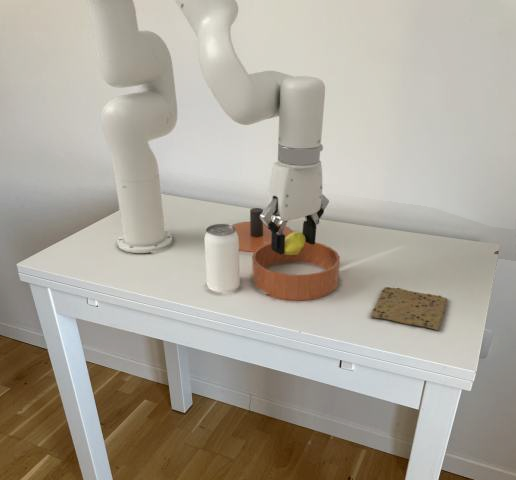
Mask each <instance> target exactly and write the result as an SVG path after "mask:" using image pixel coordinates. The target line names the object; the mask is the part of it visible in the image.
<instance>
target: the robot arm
mask: <svg viewBox="0 0 516 480" xmlns="http://www.w3.org/2000/svg"><path fill="white" fill-rule="evenodd" d="M174 1H175V3H176V5H177V6H178V8H179V9H180V11H181V12H182V14H183V16H184V17H185V20H186V21H187V23H188V24H189V26H190V28H191V29H192V30H193V32H194V34H195V36H196V39H197V55H198V60H199V65H200V69H201V73H202V77H203V79H204V81H205V84H206V85H207V87H208V88H209V90H210V92H211V94H212V95H213V97H214V99H215V100H216V101H217V103H218V105H219V106H220V107H221V109H222V110H223V112H224V113H225V114H226V115H227V116H228V117H229V118H230V119H231V120H232V121H234V122H235V123H237V124H239V125H242V126H249V125H254V124H257V123H260V122H262V121H265V120H270V119H274V118H278V137H277V138H278V139H277V161H276V162H274V163H273V164H272V165H273V166H272V169H271V172H270V173H271V174H270V179H269V185H268V193H267V205H266V207H265V208H264V209H263V212H262V213H261V214H260V219H261V220H262V222H263V223H264V224H265V226H266V227H267V228H268V229H269V231H271V232H272V239H271V249H272V250H273V251H275V252H277V253H279V254H280V255H282V254H284V248H285V235H284V234H282V233H283V231H284V229H285V226H286V227H287V224H288V222H290V221H293V220H297V219H301V218H305V220H303V222H302V233H303V234H304V235H305V238H306V242H307V243H309V244H311V245H313V244H315V242H316V236H317V226H318V225H319V224H320V219H321V218H322V216H323V215H324V213H325V209H327V206H328V205H329V203H330V199H328V198H327V196H325V194H323V166H322V161H321V152H323V151H324V146H323V144H322V136H323V123H324V111H325V97H326V86H325V83H324V81H323V80H322V79H320V78H318V77H313V76H304V75H303V76H301V75H299V76H297V75H296V76H293V75H291V74H287V73H283V72H280V71H276V70H263V71H261V72H255V73H250V74H249V73H248V71H247V70H246V68H245V66H244V65H243V62H242V61H241V60H240V58H239V56H238V55H237V52H236V50H235V47H234V45H233V42H232V37H231V29H232V26H233V24H234V23H235V22H236V20H237V18H238V15H239V4H238V3H237V0H174ZM86 2H87V7H88V12H89V19H90V25H91V31H92V35H93V41H94V48H95V52H96V58H97V64H98V67H99V68H98V69H99V71H100V74H101V77H102V79H103V80H104V82H105V83H106V84H107V85H108V86H111V87H113V88H117V89H119V88H121V89H124V88H132V87H136V86H137V90H138V92H132V93H127V94H123V95H119V96H116V97H114V98H112V99H110V100H109V101H108V102H106V104H104V106H103V108H102V110H101V114H100V124H101V128H102V132H103V135H104V138H105V140H106V143H107V147H108V150H109V154H110V159H111V164H112V169H113V177H114V181H115V189H116V197H117V203H118V210H119V217H120V225H121V229H122V234H121V235H120V236H119V237H117V240H116V243H117V248H119V249H120V250H121V251H123V252H127V253H132V254H149V253H151V252H153V251H159V250H162V249H164V248H166V247H168V246H170V245H171V244H172V242H173V236H172V234H171V233H170V232H169V231H166V228H165V219H164V218H165V217H164V209H163V200H162V199H163V198H162V190H161V180H160V172H159V171H160V170H159V165H158V164H159V163H158V160H157V157H156V156H155V153H154V152H153V150H152V148H151V147H150V143H149V142H150V141H151V142H152V140H156V139H159V138H162V137H165V136H167V135H169V134H170V133H172V132H173V130H174V129H175V127H176V125H177V121H178V103H177V94H176V93H177V92H176V85H175V84H176V83H175V75H174V68H173V60H172V57H171V52H170V50H169V48H168V46H167V44H166V42H165V41H164V39H163V38H162V37H161V36H159V34H157V33H155V32H153V31H152V30H151V31H150V30H140V29H139V25H138V19H137V11H136V6H135V3H134V0H86ZM277 224H279V226H277Z"/></svg>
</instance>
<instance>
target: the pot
mask: <svg viewBox="0 0 516 480" xmlns="http://www.w3.org/2000/svg"><path fill="white" fill-rule="evenodd" d="M252 253H253V254H252V256H251V259H252V260H251V276H252V277H251V279H252V282H253V284H254V285H255V286H256V288H257V289H259V290H261V291H262V292H264V293H266V294H265V295H266V296H268V297H270V298H274V299H278V300H283V301H293V302H295V301H297V302H303V301H312V300H317V299H321V298H323V297H326V296H328V295H330V294H331V293H333V292H334V291H335V290H336V289H337V287H338V284H339V275H340V262H341V256H340V254H339V253H338V252H337V251H336V250H335V249H334V248H332V247H330V246H327V245H326V244H323V243H321V242H320V243H319V242H317V241H315V244H313V245H311V244H309V243H307V242H305V244H304V247H303V248H302V249H301V250H300V252H299V254H297V255H286V254H282V255H280V254H279V253H277V252H275V251H273V250H272V249H271V243H269V244H265V245H263V246H261V247H259V248H258V249H257V250H256V251H255V252H252ZM287 262H288V263H289V262H298V263H299V262H300V263H307V264H313V265H316V266H319V267H322V268H324V270H322V271H319V272H313V273H308V274H307V273H306V274H305V273H304V274H290V273H282V272H278V271H277V272H276V271H274V270H270V269H268V268H266V267H268V266H271V265H274V264H279V263H287Z"/></svg>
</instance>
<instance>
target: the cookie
mask: <svg viewBox="0 0 516 480" xmlns="http://www.w3.org/2000/svg"><path fill="white" fill-rule="evenodd" d="M447 303H448V297H443V296H442V295H436V294H431V293H424V292H417V291H413V290H412V291H411V290H407V289H403V288H400V287H390V286H385V287H384V288H383V290H381V293H380V296H379V298H378V299H377V302H376V304H375V307H374V308H373V309H372V312H371V318H373V319H384V320H388V321H393V322H397V323H401V324H405V325H410V326H418V327H423V328H427V329H432V330H434V331H440V329H441V325H442V322H443V318H444V314H445V311H446V306H447Z"/></svg>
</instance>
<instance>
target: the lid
mask: <svg viewBox="0 0 516 480" xmlns="http://www.w3.org/2000/svg"><path fill="white" fill-rule="evenodd" d="M263 211H264V209H263V208H260V207H254V208H250V210H249V221H242V222H237V223H234V224H231V225H232V226H234V227H235V228H236V232H237V234H238V238H239V252H245V253H246V252H247V253H254V252H255V251H256V250H257V249H258V248H259V247H261V246H263V245H265V244H269V243H271V239H272V232H271V231H269V229H268V228H267V227H266V226H265V224H264V223H263V222H262V220H261V219H260V214H261V213H262V212H263ZM279 224H280V223H278V224H277V226H279ZM293 232H294V230H293V229H291V228H290V227H289V226H287V225H286V226H285V229H284V231H283V233H282V234H284V235H285V238H286V237H287V236H288V235H289V234H291V233H293Z"/></svg>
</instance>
